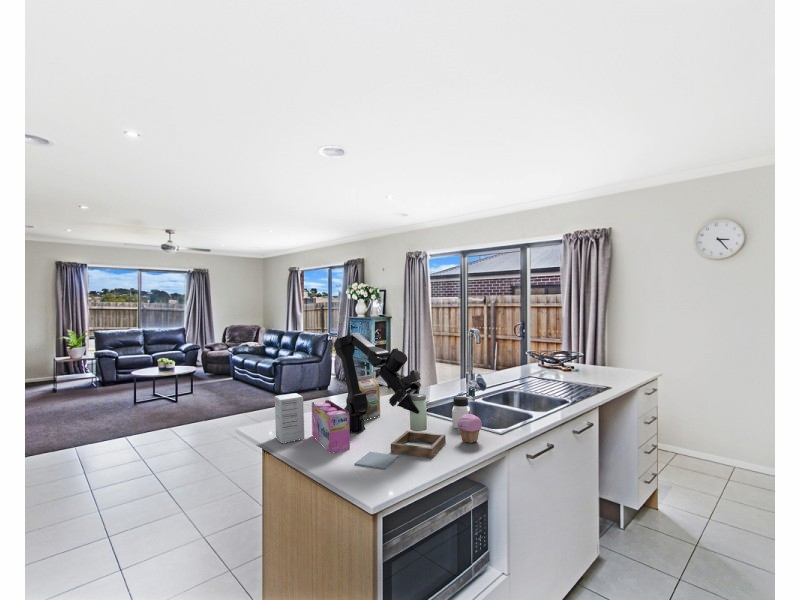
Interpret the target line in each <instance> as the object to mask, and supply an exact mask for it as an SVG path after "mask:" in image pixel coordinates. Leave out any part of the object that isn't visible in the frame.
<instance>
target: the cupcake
mask: <svg viewBox="0 0 800 600" xmlns="http://www.w3.org/2000/svg"><path fill="white" fill-rule="evenodd" d="M458 427H459V428H458V429H459V430H460V436H461V441H462V443H463V442H464V443H466V442H469V443H468V444H473V443H474V442H477V441H478V439H479V434H480V431H481V429H482V427H483V424H482V420H481V419H480V417H478V416H477V415H475V414H472V413H470V414H466V415H463V416H462V417H461V418H460V419H459V421H458Z"/></svg>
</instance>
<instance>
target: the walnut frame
mask: <svg viewBox="0 0 800 600" xmlns="http://www.w3.org/2000/svg"><path fill="white" fill-rule="evenodd" d="M408 441H417V442H424V443H426V442H427V443H432V444H431V446H430V447H429V446H421V445H413V444H406V443H407V442H408ZM446 442H447V441H446V434H443V433H441V434H440V433H432V432H424V431H412V430H406V431H404V433H402V434H401V435H400V436H398V437H397V438H395V440H394V441H392V442H391V443H390V453H393V454H397V455H398V454H399V455H408V456H413V457H414V456H415V457H422V458H429V457H431V459H433V458H434V457H435V456H436V455H435V454H437V453H439V451H440V450H441V449H442V447H444V445H446Z"/></svg>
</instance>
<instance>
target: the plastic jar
mask: <svg viewBox="0 0 800 600" xmlns="http://www.w3.org/2000/svg"><path fill="white" fill-rule="evenodd" d="M410 396H411V400H412V402H413V403H414V404H415V406H416V407H417V409H418V410H419V413H418V414H416V413H414V412H412V411H409V428H410V430H409V431H415V432H424V431H426V430H428V425H427V423H428V421H427V420H428V419H427V418H428V417H427V395H426V394H425V393H419V394H411V395H410Z"/></svg>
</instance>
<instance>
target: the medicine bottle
mask: <svg viewBox="0 0 800 600" xmlns="http://www.w3.org/2000/svg"><path fill="white" fill-rule="evenodd" d="M470 409H471V408H470V406H469V398H468V397H466V396H463V395H462V396H460V395H459V396H455V397H453V407H452V410H451V419H452V420H451V422H452V424H451V426H452V428H453V429H456V428H457V429H460V428H459V427H458V421H459V419H460V418H461V417H462V416H463V415H466V414H471V410H470Z"/></svg>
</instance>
